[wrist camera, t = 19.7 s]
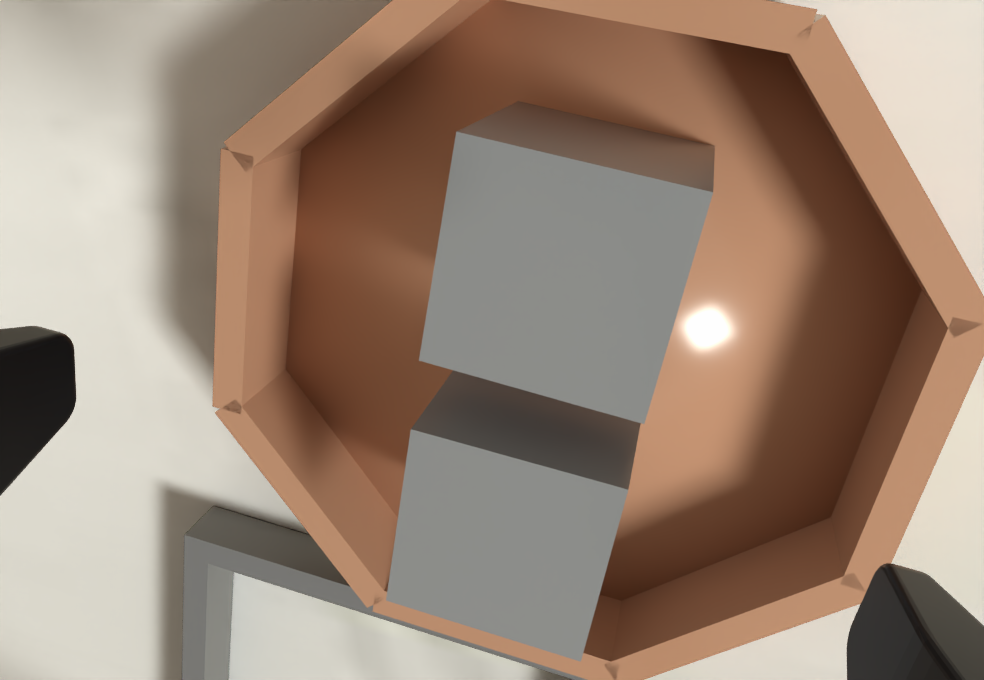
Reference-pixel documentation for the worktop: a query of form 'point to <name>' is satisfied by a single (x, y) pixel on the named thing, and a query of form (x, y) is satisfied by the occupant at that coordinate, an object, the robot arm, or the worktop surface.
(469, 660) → the worktop surface
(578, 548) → the pale grey block
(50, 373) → the robot arm
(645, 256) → the matte grey cube
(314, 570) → the parts tray
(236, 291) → the bowl
